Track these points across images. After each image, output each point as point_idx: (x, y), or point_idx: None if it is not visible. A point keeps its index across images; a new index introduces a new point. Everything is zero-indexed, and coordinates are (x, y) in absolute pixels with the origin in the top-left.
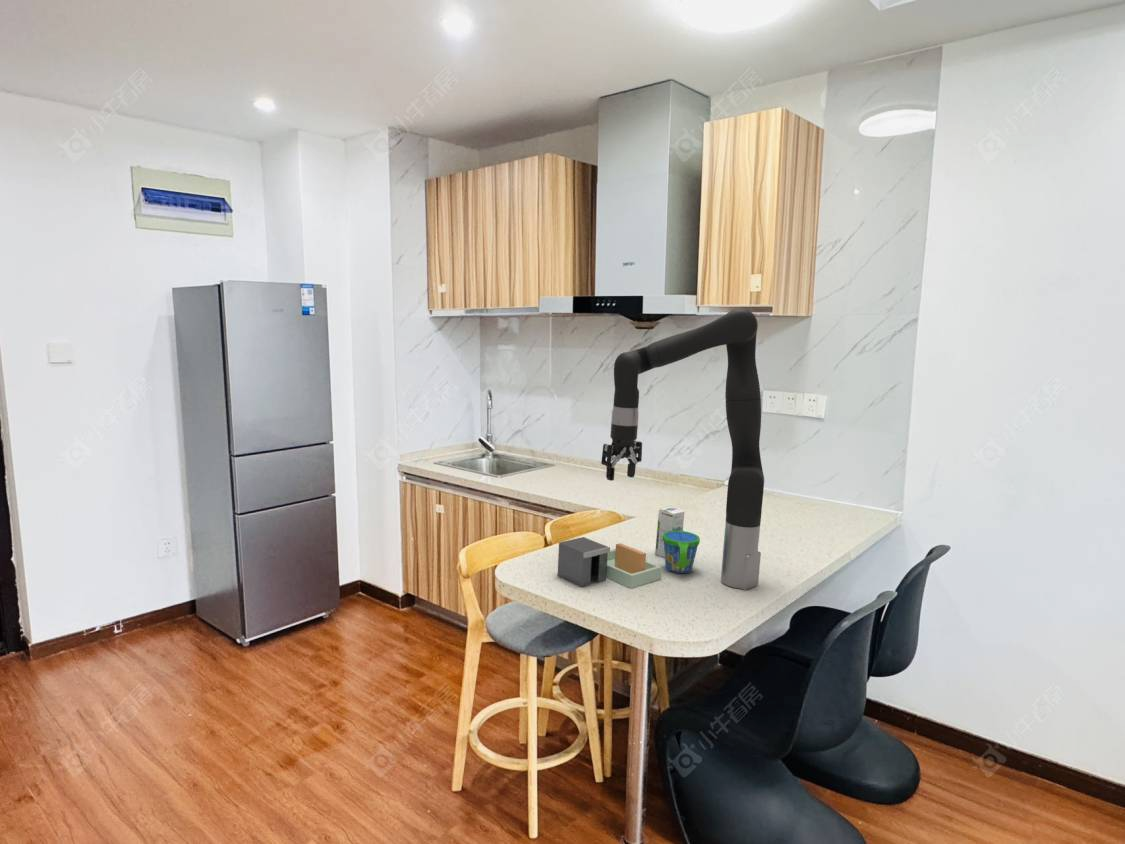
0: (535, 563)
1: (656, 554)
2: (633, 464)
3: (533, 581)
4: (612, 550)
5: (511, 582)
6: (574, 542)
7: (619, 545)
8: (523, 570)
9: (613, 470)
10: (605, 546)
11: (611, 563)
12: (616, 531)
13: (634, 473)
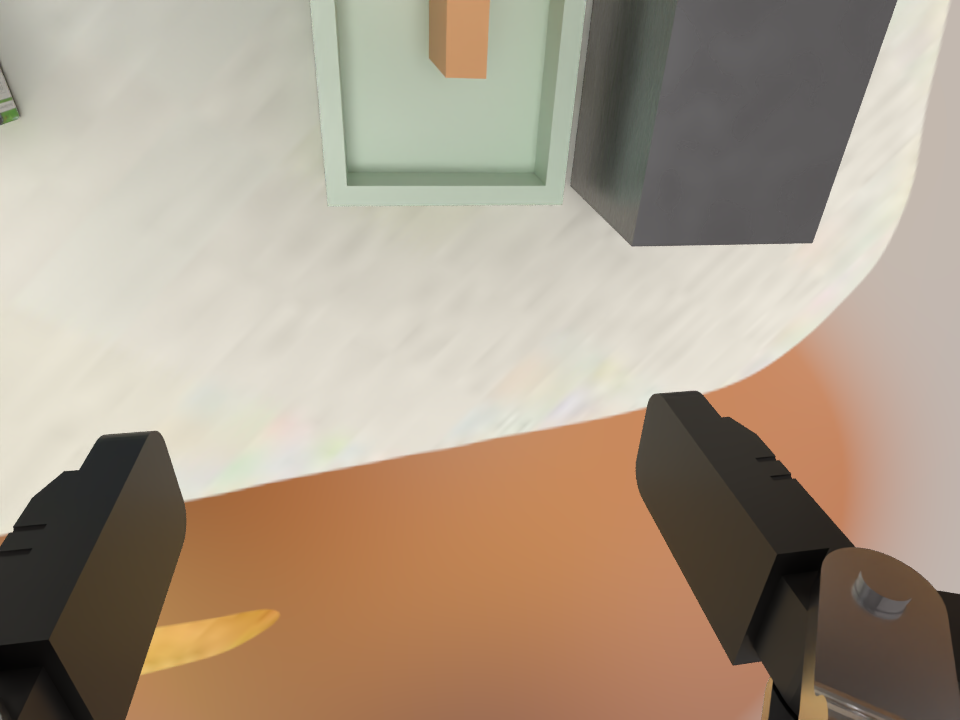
0: (663, 343)
1: (14, 106)
2: (15, 679)
3: (830, 192)
4: (367, 195)
5: (887, 233)
6: (756, 194)
7: (487, 40)
8: (755, 307)
9: (775, 508)
10: (687, 2)
11: (424, 125)
12: (35, 489)
13: (76, 475)
